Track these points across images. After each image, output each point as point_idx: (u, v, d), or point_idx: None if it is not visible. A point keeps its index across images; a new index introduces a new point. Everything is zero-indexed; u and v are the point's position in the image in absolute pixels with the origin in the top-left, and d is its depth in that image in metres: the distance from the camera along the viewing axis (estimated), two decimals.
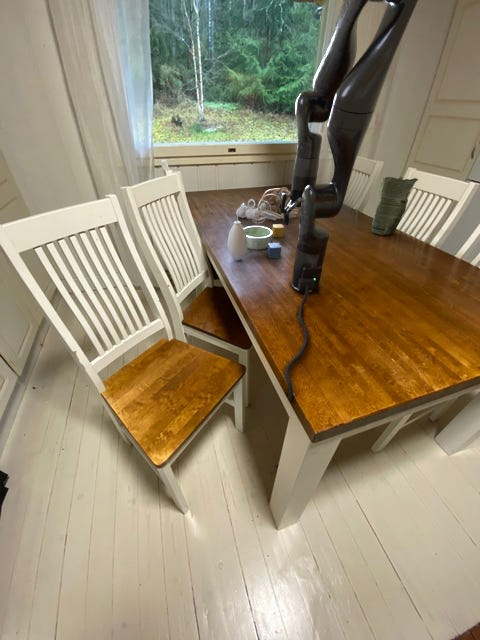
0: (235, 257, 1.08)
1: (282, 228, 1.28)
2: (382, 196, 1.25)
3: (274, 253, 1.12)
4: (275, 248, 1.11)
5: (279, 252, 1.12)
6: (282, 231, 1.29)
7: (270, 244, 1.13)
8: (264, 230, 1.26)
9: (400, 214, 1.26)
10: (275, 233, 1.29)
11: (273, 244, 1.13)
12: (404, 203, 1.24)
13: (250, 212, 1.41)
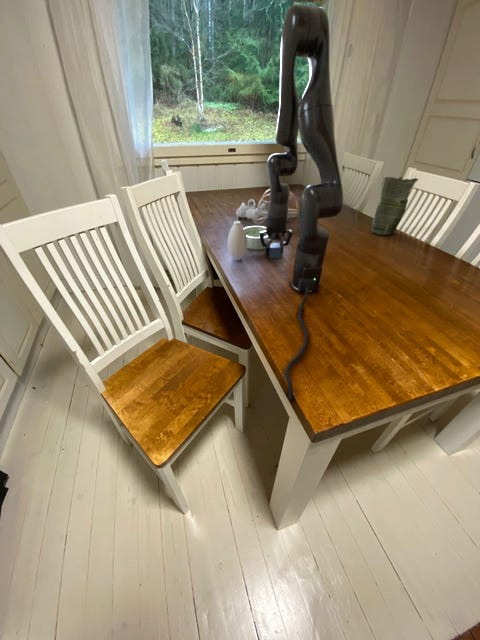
0: (235, 257, 1.08)
1: None
2: (382, 196, 1.25)
3: (274, 253, 1.12)
4: (275, 248, 1.11)
5: (279, 252, 1.12)
6: None
7: None
8: (264, 230, 1.26)
9: (400, 214, 1.26)
10: None
11: (273, 244, 1.13)
12: (404, 203, 1.24)
13: (250, 212, 1.41)
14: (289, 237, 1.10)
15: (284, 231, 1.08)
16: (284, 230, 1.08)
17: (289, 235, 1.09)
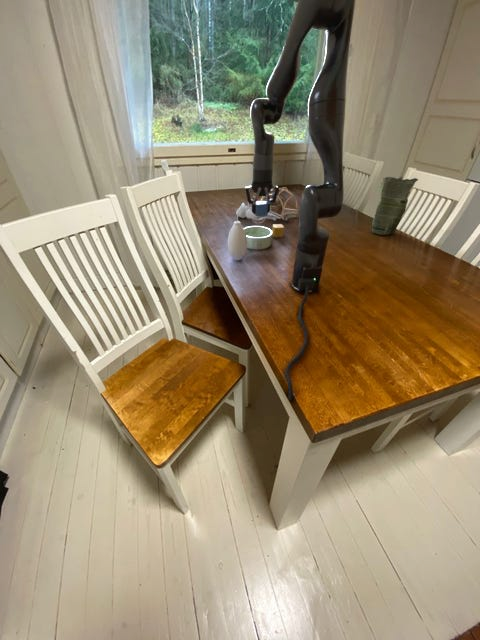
0: (235, 257, 1.08)
1: (282, 228, 1.28)
2: (382, 196, 1.25)
3: (260, 210, 1.10)
4: (261, 205, 1.08)
5: (265, 209, 1.10)
6: (282, 231, 1.29)
7: (256, 201, 1.10)
8: (264, 230, 1.26)
9: (400, 214, 1.26)
10: (275, 233, 1.29)
11: (259, 201, 1.10)
12: (404, 203, 1.24)
13: (250, 212, 1.41)
14: (275, 193, 1.07)
15: (270, 186, 1.05)
16: (270, 185, 1.05)
17: (275, 191, 1.07)
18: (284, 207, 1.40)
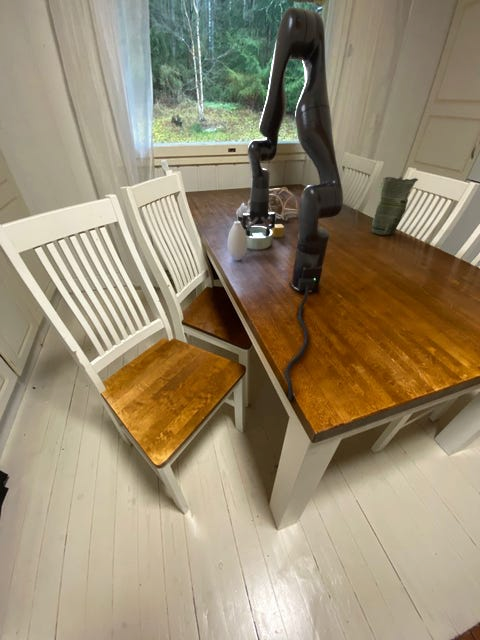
0: (235, 257, 1.08)
1: (282, 228, 1.28)
2: (382, 196, 1.25)
3: None
4: None
5: None
6: (282, 231, 1.29)
7: (254, 234, 1.20)
8: (264, 230, 1.26)
9: (400, 214, 1.26)
10: (275, 233, 1.29)
11: (256, 234, 1.20)
12: (404, 203, 1.24)
13: None
14: (273, 219, 1.15)
15: (266, 215, 1.13)
16: (266, 214, 1.13)
17: (272, 217, 1.14)
18: (284, 207, 1.40)
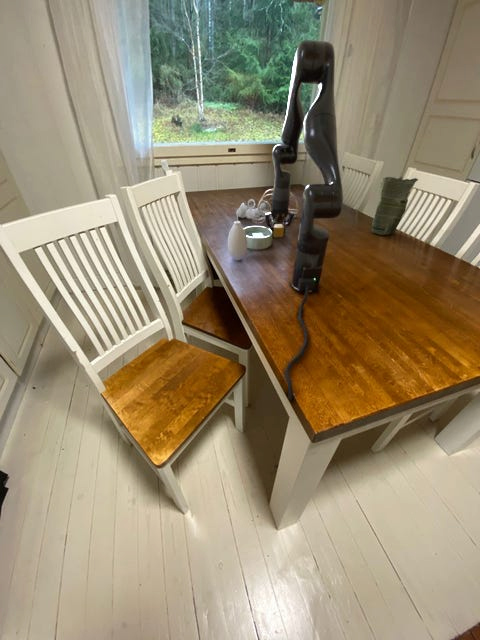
0: (235, 257, 1.08)
1: (282, 228, 1.28)
2: (382, 196, 1.25)
3: None
4: None
5: None
6: (282, 231, 1.29)
7: (254, 234, 1.20)
8: (264, 230, 1.26)
9: (400, 214, 1.26)
10: (275, 233, 1.29)
11: (256, 234, 1.20)
12: (404, 203, 1.24)
13: (250, 212, 1.41)
14: (291, 218, 1.26)
15: (286, 213, 1.25)
16: (286, 212, 1.24)
17: (291, 216, 1.26)
18: None
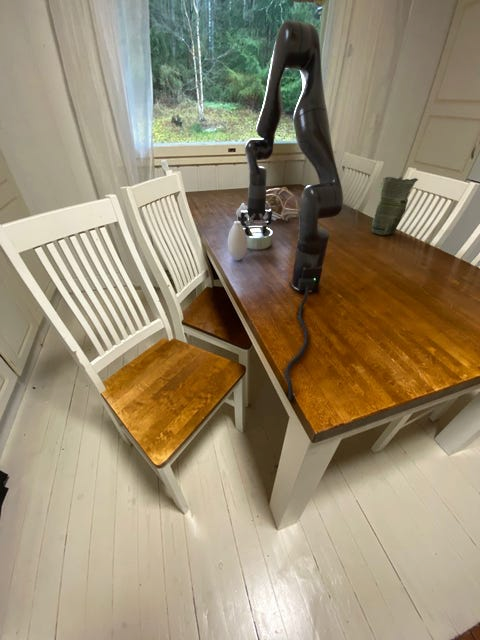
0: (235, 257, 1.08)
1: None
2: (382, 196, 1.25)
3: None
4: None
5: None
6: None
7: (254, 234, 1.20)
8: None
9: (400, 214, 1.26)
10: None
11: (256, 234, 1.20)
12: (404, 203, 1.24)
13: None
14: (270, 216, 1.19)
15: (264, 212, 1.18)
16: (264, 211, 1.17)
17: (269, 214, 1.19)
18: (284, 207, 1.40)
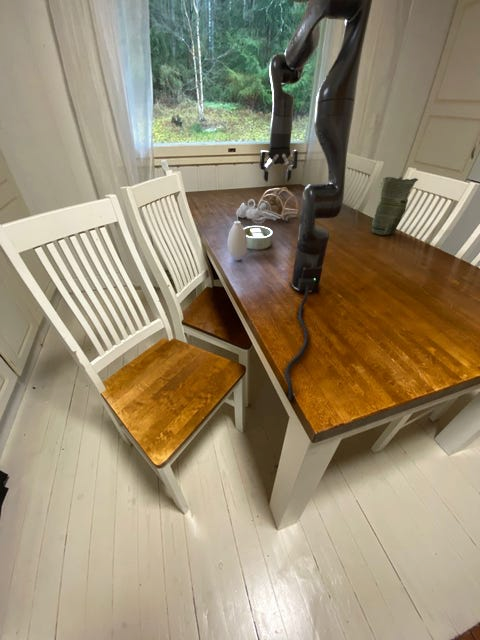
0: (235, 257, 1.08)
1: None
2: (382, 196, 1.25)
3: None
4: None
5: None
6: None
7: (254, 234, 1.20)
8: (264, 230, 1.26)
9: (400, 214, 1.26)
10: None
11: (256, 234, 1.20)
12: (404, 203, 1.24)
13: (250, 212, 1.41)
14: (295, 158, 1.03)
15: (288, 153, 1.01)
16: (288, 152, 1.01)
17: (295, 156, 1.02)
18: (284, 207, 1.40)
